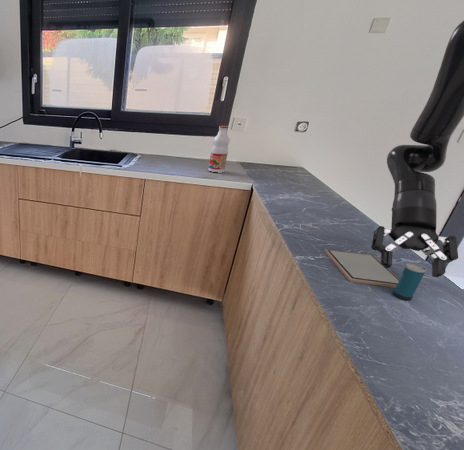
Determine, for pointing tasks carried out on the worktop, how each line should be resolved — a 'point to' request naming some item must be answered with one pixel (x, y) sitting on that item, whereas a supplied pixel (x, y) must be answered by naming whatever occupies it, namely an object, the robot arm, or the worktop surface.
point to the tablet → (363, 268)
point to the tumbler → (409, 281)
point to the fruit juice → (219, 151)
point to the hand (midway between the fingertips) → (411, 271)
